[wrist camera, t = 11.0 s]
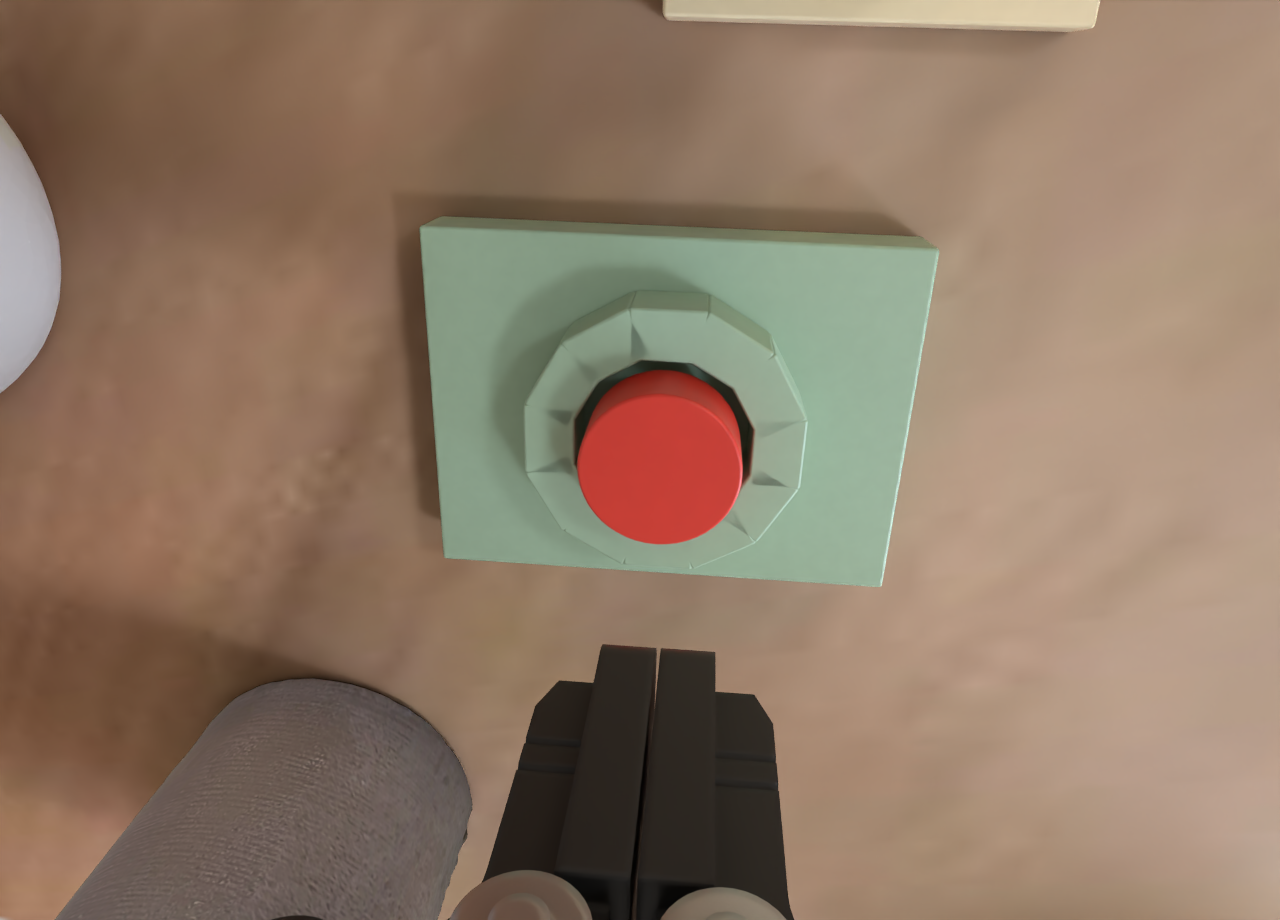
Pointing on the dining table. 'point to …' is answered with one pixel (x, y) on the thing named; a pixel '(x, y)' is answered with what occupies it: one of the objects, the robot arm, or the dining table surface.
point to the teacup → (24, 260)
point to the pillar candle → (293, 817)
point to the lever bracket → (896, 13)
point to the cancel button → (661, 458)
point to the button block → (685, 342)
